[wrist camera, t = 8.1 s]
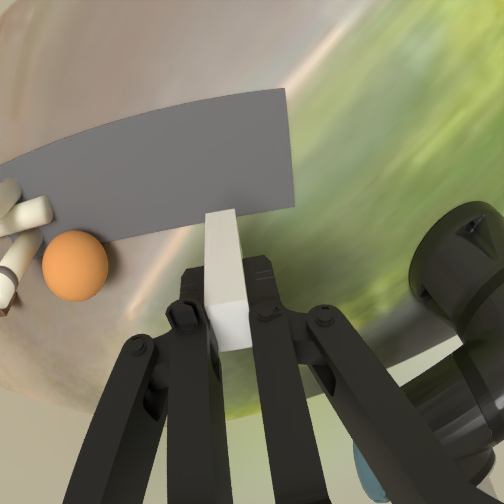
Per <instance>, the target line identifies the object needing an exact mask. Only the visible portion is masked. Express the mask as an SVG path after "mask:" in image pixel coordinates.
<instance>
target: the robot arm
mask: <svg viewBox="0 0 504 504" xmlns="http://www.w3.org/2000/svg"><path fill="white" fill-rule="evenodd" d="M409 282H410V286H411V289H412V291H413V292H414V294H415V295H416V297H417V298H418V300H419V302H420V303H421V304H422V305H423V306H424V307H425V308H427V309H428V310H429V311H431V312H432V313H433V314H435V315H436V316H437V317H439V318H440V319H441V320H443V321H444V322H445V323H446V324H448V325H449V326H450V327H452V328H453V329H454V330H455V331H456V333H457V334H458V336H459V338H460V339H461V341H462V343H463V345H462V346H461V347H459V348H458V349H457V350H455V351H454V352H453V353H452V354H449V355H448V356H447V357H445V358H444V359H443V360H441V361H440V362H438V363H437V364H435V365H434V366H432V367H431V368H430V369H428V370H426V371H425V372H423V373H422V374H420V375H419V376H417V377H416V378H414V379H412V380H411V381H409V382H408V383H406V384H404V385H403V386H401V387H399V386H398V385H397V383H396V382H395V381H394V379H393V378H392V377H391V375H390V374H389V373H388V371H387V370H386V369H385V367H384V366H383V365H382V363H381V362H380V361H379V359H378V358H377V357H376V356H375V354H374V353H373V352H372V350H371V349H370V348H369V346H368V345H367V344H366V343H365V341H364V340H363V339H362V337H361V336H360V335H359V334H358V332H357V331H356V330H355V329H354V327H353V326H352V325H351V323H350V322H349V321H348V320H347V318H346V317H345V316H344V315H343V313H342V312H341V311H340V310H339V309H338V308H336V307H334V306H332V305H318V306H315V307H314V308H312V309H311V310H310V311H309V312H308V313H298V312H293V311H290V310H288V309H287V308H285V307H284V306H283V305H282V303H281V301H280V297H279V293H278V289H277V285H276V281H275V277H274V273H273V269H272V265H271V261H270V260H269V259H268V258H267V257H266V256H265V255H261V256H255V257H250V258H244V259H243V253H242V247H241V242H240V236H239V231H238V225H237V220H236V214H235V209H229V210H223V211H217V212H212V213H206V214H205V263H204V266H201V267H195V268H189V269H186V270H185V272H184V274H183V275H182V277H181V287H180V298H179V300H177V301H175V302H173V303H172V304H171V305H170V306H169V307H168V308H167V310H166V313H165V314H166V316H167V318H168V321H169V323H170V325H171V327H172V329H171V330H170V331H169V332H167V333H165V334H163V335H161V336H159V337H156V338H154V339H152V338H151V337H150V336H149V335H146V334H137V335H135V336H132V337H131V338H129V339H128V340H127V341H126V342H125V344H124V345H123V347H122V349H121V352H120V354H119V356H118V358H117V361H116V363H115V365H114V367H113V370H112V372H111V374H110V377H109V379H108V381H107V384H106V386H105V389H104V391H103V393H102V396H101V398H100V401H99V403H98V406H97V408H96V411H95V413H94V416H93V418H92V421H91V423H90V426H89V429H88V431H87V434H86V437H85V439H84V442H83V444H82V447H81V450H80V453H79V456H78V458H77V461H76V464H75V467H74V470H73V473H72V476H71V479H70V482H69V485H68V488H67V491H66V494H65V497H64V500H63V503H62V504H142V503H143V500H144V496H145V492H146V488H147V485H148V481H149V477H150V473H151V470H152V466H153V463H154V459H155V455H156V452H157V448H158V445H159V441H160V437H161V434H162V431H163V427H164V424H165V420H166V417H167V414H168V417H167V501H168V504H233V497H232V487H231V478H230V468H229V457H228V446H227V435H226V423H225V411H224V398H223V384H222V370H221V362H220V359H219V356H218V348H219V351H220V352H224V351H231V350H238V349H244V348H250V347H253V354H254V361H255V368H256V375H257V382H258V389H259V396H260V403H261V410H262V417H263V424H264V431H265V438H266V444H267V451H268V457H269V464H270V471H271V477H272V484H273V490H274V496H275V503H276V504H332V503H331V501H330V499H329V496H328V492H327V488H326V483H325V479H324V475H323V470H322V466H321V461H320V457H319V452H318V448H317V444H316V439H315V435H314V431H313V426H312V422H311V418H310V414H309V409H308V406H307V401H306V397H305V392H304V388H303V384H302V380H301V376H300V371H299V367H298V364H306V365H308V367H309V368H310V370H311V372H312V373H313V375H314V377H315V378H316V380H317V382H318V383H319V385H320V387H321V388H322V390H323V392H324V393H325V394H326V397H327V398H328V400H329V401H330V403H331V405H332V406H333V408H334V410H335V411H336V413H337V415H338V416H339V418H340V420H341V421H342V423H343V425H344V426H345V428H346V429H347V431H348V433H349V434H350V436H351V438H352V439H353V453H354V460H355V465H356V469H357V473H358V476H359V479H360V482H361V485H362V487H363V489H364V491H365V493H366V494H367V495H368V497H369V498H370V499H372V500H373V501H374V502H376V503H387V502H389V501H391V503H392V504H504V503H502V502H500V501H499V500H498V498H497V496H496V494H495V491H494V488H493V486H492V483H491V481H490V478H489V476H490V474H491V472H492V470H493V468H494V466H495V462H496V456H495V453H494V451H493V449H492V448H493V447H494V446H495V445H496V444H498V443H500V442H501V441H503V440H504V217H503V216H502V215H501V214H500V213H499V212H498V211H497V210H496V209H495V208H493V207H492V206H491V205H490V204H488V203H485V202H481V201H475V202H469V203H466V204H463V205H461V206H459V207H457V208H455V209H454V210H452V211H451V212H449V213H448V214H447V215H445V216H444V217H443V218H442V219H441V220H440V221H439V222H437V223H436V225H435V226H434V227H433V228H432V229H431V230H430V231H429V233H428V234H427V235H426V236H425V238H424V239H423V241H422V242H421V244H420V246H419V247H418V249H417V251H416V253H415V255H414V258H413V261H412V264H411V267H410V273H409ZM478 404H479V405H478ZM491 432H492V433H491Z"/></svg>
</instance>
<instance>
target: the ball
mask: <svg viewBox="0 0 504 504" xmlns="http://www.w3.org/2000/svg"><path fill="white" fill-rule="evenodd" d="M42 270H43V275H44V278H45V281H46V283H47V285H48V286H49V288H50V289H51V290H52V292H53V293H55V294H56V295H57V296H58V297H60V298H62V299H64V300H67V301H72V302H79V301H84V300H87V299H89V298H91V297H93V296H94V295H96V294H97V293H98V292H99V291H100V290H101V288H102V287H103V285H104V283H105V281H106V278H107V274H108V258H107V255H106V252H105V250H104V248H103V246H102V245H101V243H100V242H99V241H98V240H97V239H96V238H95V237H93V236H92V235H90V234H88V233H86V232H83V231H77V230H72V231H67V232H64V233H61V234H60V235H58V236H56V237H55V238H54V239H53V240H52V241H51V242H50V244H49V245H48V247H47V248H46V250H45V253H44V256H43V261H42Z"/></svg>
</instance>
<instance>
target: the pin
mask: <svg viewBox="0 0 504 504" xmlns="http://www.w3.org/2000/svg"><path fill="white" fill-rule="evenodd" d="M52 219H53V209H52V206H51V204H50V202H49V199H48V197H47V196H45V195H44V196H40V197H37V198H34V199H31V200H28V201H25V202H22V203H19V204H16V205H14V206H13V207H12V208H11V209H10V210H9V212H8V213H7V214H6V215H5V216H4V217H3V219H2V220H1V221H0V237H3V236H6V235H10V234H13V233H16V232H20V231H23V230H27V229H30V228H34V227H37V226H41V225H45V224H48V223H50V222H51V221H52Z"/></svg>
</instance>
